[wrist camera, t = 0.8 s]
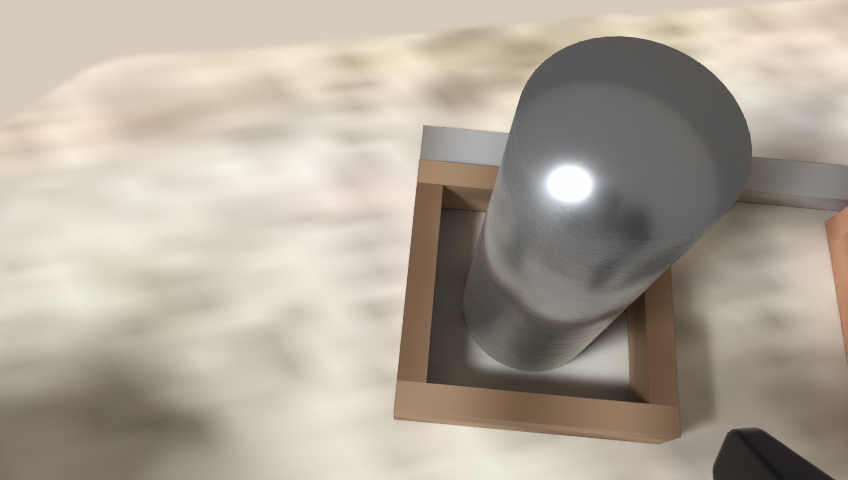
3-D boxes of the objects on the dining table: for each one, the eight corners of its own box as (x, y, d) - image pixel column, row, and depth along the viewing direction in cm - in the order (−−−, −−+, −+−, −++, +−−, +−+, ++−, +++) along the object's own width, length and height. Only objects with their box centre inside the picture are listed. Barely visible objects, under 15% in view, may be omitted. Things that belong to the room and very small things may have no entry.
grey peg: (623, 306, 27) (797, 135, 15) (535, 400, 25) (655, 289, 14) (524, 218, 28) (615, 0, 16) (434, 303, 26) (466, 127, 15)
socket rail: (1039, 197, 29) (1083, 174, 27) (1128, 488, 25) (1187, 484, 23) (422, 138, 29) (424, 111, 27) (393, 419, 25) (393, 410, 23)
